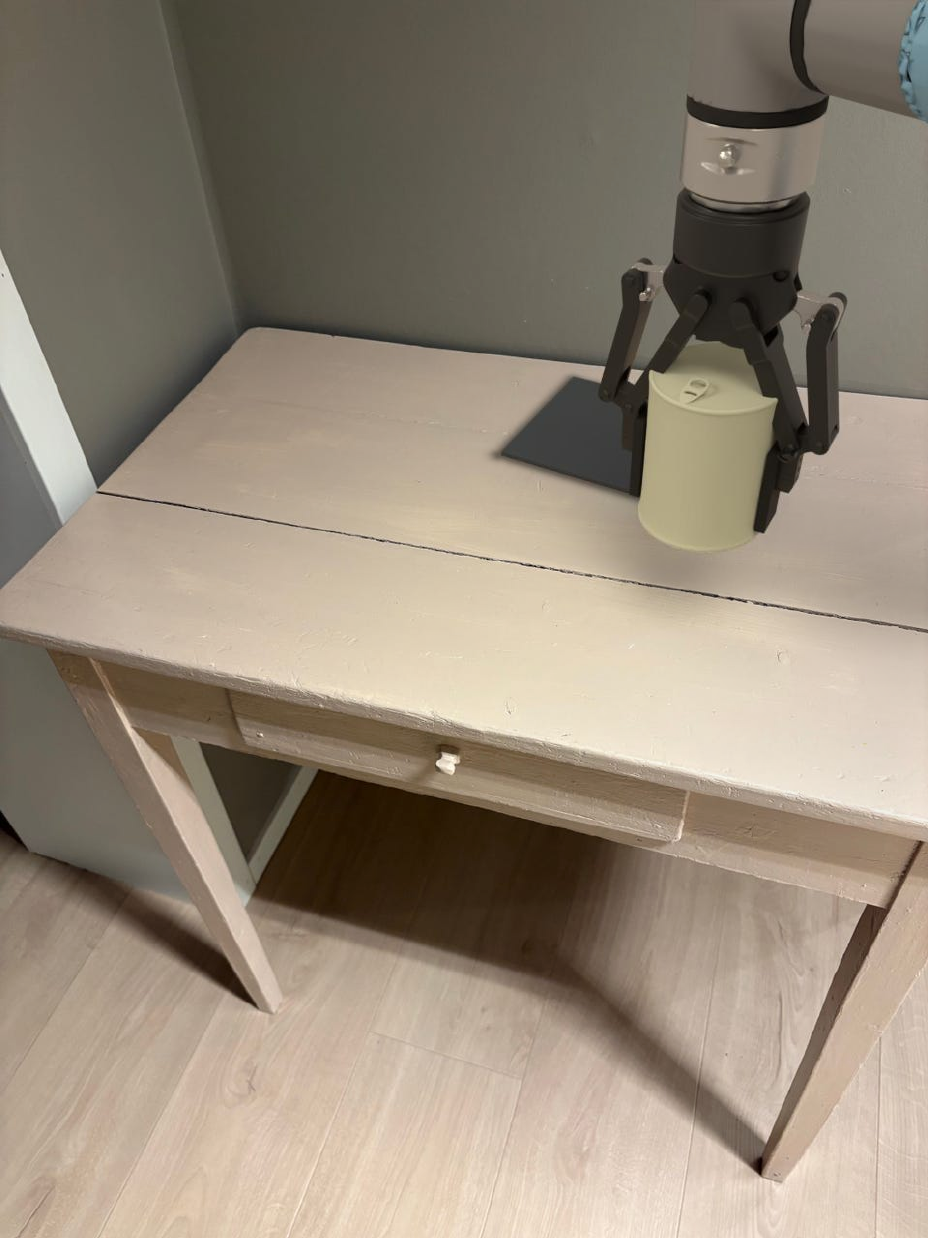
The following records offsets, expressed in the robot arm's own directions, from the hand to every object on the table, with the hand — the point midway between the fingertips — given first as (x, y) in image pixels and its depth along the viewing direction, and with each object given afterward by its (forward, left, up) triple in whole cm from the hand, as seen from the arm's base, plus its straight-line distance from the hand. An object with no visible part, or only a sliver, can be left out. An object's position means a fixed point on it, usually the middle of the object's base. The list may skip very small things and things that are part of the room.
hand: (701, 503), depth 71 cm
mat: (+14, -20, -11) cm, 27 cm away
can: (0, 0, -1) cm, 1 cm away
